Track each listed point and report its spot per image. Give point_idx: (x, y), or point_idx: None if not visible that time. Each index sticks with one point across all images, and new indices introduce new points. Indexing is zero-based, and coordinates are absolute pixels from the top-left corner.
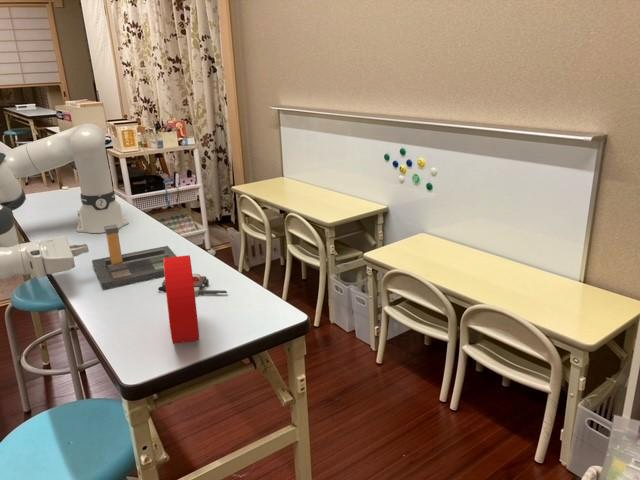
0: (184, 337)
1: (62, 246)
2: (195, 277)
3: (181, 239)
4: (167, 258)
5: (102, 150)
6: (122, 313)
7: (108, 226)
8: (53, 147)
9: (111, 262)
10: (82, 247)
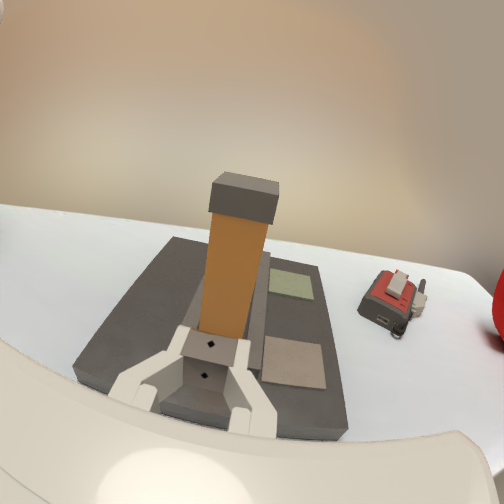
0: None
1: (176, 478)
2: (408, 276)
3: (137, 221)
4: None
5: None
6: (472, 409)
7: (233, 181)
8: None
9: None
10: (247, 363)
